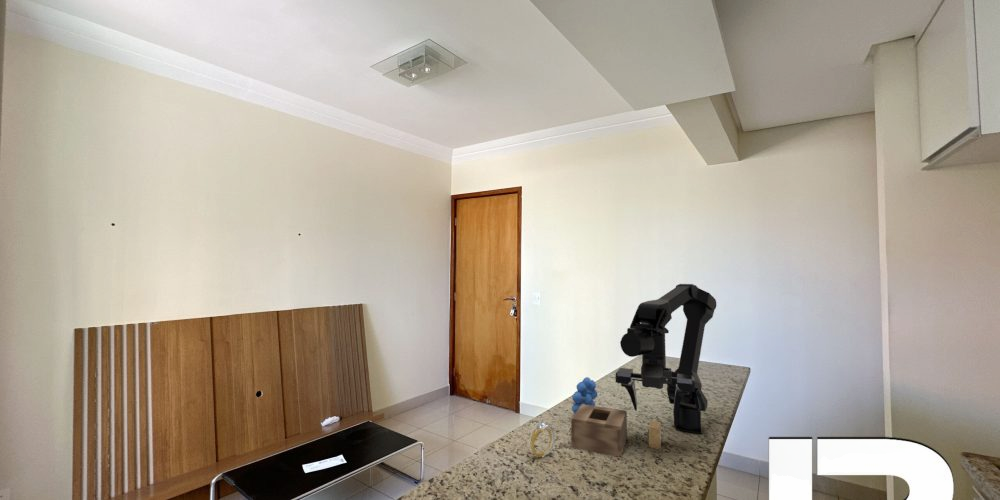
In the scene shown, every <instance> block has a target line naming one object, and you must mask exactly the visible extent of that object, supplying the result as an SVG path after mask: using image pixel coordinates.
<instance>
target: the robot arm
mask: <svg viewBox="0 0 1000 500" xmlns="http://www.w3.org/2000/svg"><path fill="white" fill-rule="evenodd" d="M681 307H682V311H683V315H684V317H685V319H686V324H685V328H684V336H683V342H682V347H681V351H680V358H679V363H678V367H677V369H675V370H674V371H672V367H671V368H669V367H667V364H666V363H667V362H666V360H667V357H666V334H669V331H670V330H668V328H667V327H666V326H667V325H668V323H669V322H670V321H671V320H672V314H673V312H676V310H677V309H679V308H681ZM716 309H717V300H716V298H715V297H714V296H713V295H712V294H711V293H710V292H709V291H705V290H703V289H701V288H699V287H698V286H697V285H695V284H693V283H679V284H676V285H675V287H674V288H673V289H671V290H669V291H668V292H666V293H665V294H664V295H662V296H661V297H659V298H657V299H651V300H646V301H643V302H641V303H640V304H638V306H637V307H636V310H635V312H634V316H633V318H632V320H631V323H630V326H629V327H627V329H626V333H624V334H623V335H622V337H621V339H620V342H619V344H620V348H621V351H622V352H623V353H624V354H625V355H626V356H628V357H631V358H632V357H639V356H641V359H642V360H641V367H640V373H639V372H638V373H636V372H634V369H633V368H626V367H619V368H618V369H617V371H616V372H615V383H616V384H620V386H621V388H622V387H624V388H625V390H627V392H628V395H629V397H630V400H631V403H632V405H633V408H634V411H635V412H636V411H638V400H637V399H638V398H637V389H636V382H637V381H638V382H641V385H642V386H643V388H647V389H648V388H656V389H657V390H661V389H663V388H664V385H666V393H667V397H668V402H669V404H671V405H673V409H672V411H673V412H672V413H673V425H674V426H675V430H676V431H680V432H687V433H692V434H699V435H700V434H701V435H702V434H703V430H702V414H701V413H702V412H706V411H707V408H708V402H709V401H708V399H707V397H706V396H705V393H703V390H702V387H703V386H702V385H703V384H702V382H701V379H700V377H699V374H698V371H699V364H700V357H701V351H702V345H703V340H704V339H703V338H704V333H705V326H706V325H707V323H708V322H709V321H711V319H713V318H714V313H715V310H716ZM635 381H636V382H635Z"/></svg>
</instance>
